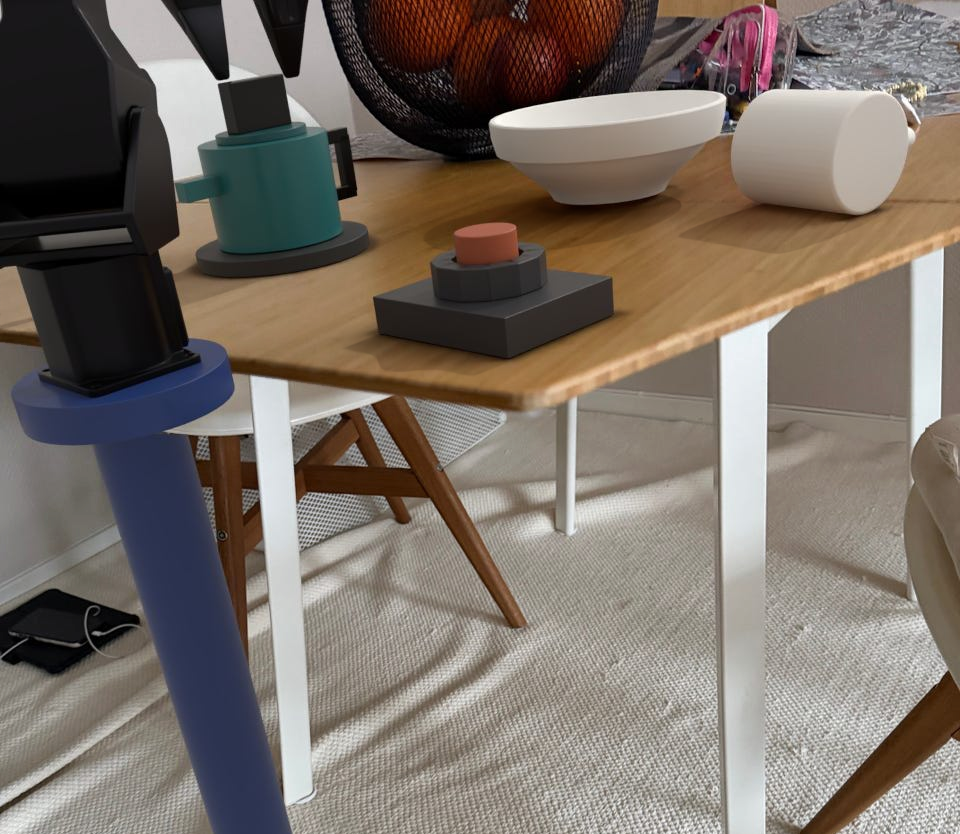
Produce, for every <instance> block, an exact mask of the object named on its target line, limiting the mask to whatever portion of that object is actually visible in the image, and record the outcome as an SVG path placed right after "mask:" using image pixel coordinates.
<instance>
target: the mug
mask: <svg viewBox="0 0 960 834" xmlns="http://www.w3.org/2000/svg"><path fill="white" fill-rule="evenodd" d="M916 138H917V137H916V133H915V131H914V129H913V128H911V127H910V126H909V125H908V120H907V116H906V113H905V111H904V109H903V107H902V105H901V103H900V102H899V101H898V99H897V98H896V97H895V96H893V95H892V94H890V93H888V92H885V91H881V90H839V89H836V90H834V89H833V90H832V89H796V88H795V89H791V88H790V89H789V88H787V89H786V88H774V89H769V90H766V91H764V92H762V93H760V94H759V95H757V96H756V97H754V99H753V100H751V101H750V103H749V104H748V105H747V106H746V108H745V109H744V111H743V112H742V114H741V115H740V118H739V119H738V122H737V124H736V127H735V129H734V132H733V137H732V140H731V147H730V166H731V167H730V168H731V172H732V176H733V180H734V182H735V184H736V186H737V189H738V190H739V191H740V193H741V194H742V195H743V196H744V197H746V198H747V199H748V200H750V201H752V202H754V203H759V204H767V205H774V206H781V207H789V208H798V209H805V210H813V211H820V212H829V213H835V214H836V213H837V214H843V215H852V216H861V215H866V214H868V213H870V212H872V211H873V212H874V210H876V209H877V208H879V207H880V206H881V205H882V204H883V203H884V202H885V201H886V200H887V199H888V198H889V196H890V195H891V194H892V192H893V191H894V190H895V188H896V185H897V184H898V182H899V180H900V177H901V175H902V173H903V170H904V167H905V163H906V159H907V154H908V150H909V148H911V147H912V146H913V145H914V144H915V142H916Z"/></svg>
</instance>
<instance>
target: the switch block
mask: <svg viewBox="0 0 960 834" xmlns="http://www.w3.org/2000/svg"><path fill="white" fill-rule="evenodd" d="M518 252H519V257H516V258H513V259H510V260H506V261H500V262H494V263H489V264H472V265H466V264H458V263H457V259H456V251H455V248H453V249H452V250H451V249H450V250H447V251H443V252H441V253H439V254H437V255H436V256H435V257H434V258H433V259H431V261H429V267H430V274H431V276H430V277H427V278H425V279H424V278H423V279H421V280H418V281H415V282H412V283H409V284H406V285H403V286H400V287H397V288H395V289H392V290H388V291H386V292H383V293H380V294H377V295H373V296H372V301H373V309H374V313H375V314H374V315H375V320H376V327H377V333H378V334H381V335H384V336H385V335H386V336H391V337H396V338H402V339H406V340H411V341H416V342H422V343H427V344H432V345H437V346H442V347H447V348H452V349H457V350H463V351H467V352H472V353H477V354H483V355H487V356H493V357H497V358H502V359H507V360H509V359H512V358H514V357H516V356H518V355H520V354H524V353H526V352H527V351H530V350H533V349H535V348H538V347H539V346H542V345H545V344H547V343H550V342H552V341H554V340H556V339H559V338H561V337H564V336H566V335H568V334H571V333H573V332H575V331H578V330H580V329H582V328H585V327H587V326H589V325H592V324H594V323H595V324H596V323H597V322H599V321H602V320H604V319H607V318H609V317H611V316H613V315H615V307H614V306H615V305H614V282H613V281H614V280H613V276H612V275H611V276H610V275H602V274H593V273H586V272H577V271H571V270H560V269H553V268H548V266H547V265H548V264H547V254H546V253H547V252H546V248H545V247H543V246H542V245H540V244H538V243H536V242H535V243H534V242H525V241H518Z"/></svg>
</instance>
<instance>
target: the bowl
mask: <svg viewBox="0 0 960 834" xmlns="http://www.w3.org/2000/svg"><path fill="white" fill-rule="evenodd" d="M726 106H727V96H726V95H724V93H722V92H718V91H712V90H700V89H699V90H698V89H697V90H696V89H676V90H675V89H673V90H672V89H671V90H669V89H668V90H652V91H651V90H648V91H636V92H625V93H613V94H605V95H604V94H603V95H597V96H595V95H594V96H587V97H580V98H572V99H566V100H560V101H553V102H548V103H542V104H537V105H532V106H528V107H523V108H518V109H514V110H512V111H511V110H510V111H507V112H504V113H501V114H499V115H496V116H494V117H493V118H491V119H490V120H489V122H488V128H489V134H490V135H489V136H490V141H491V143H492V144H491V145H492V146H493V149H494V152H495V155H496V157H497V158H499V159H500V160H502V161H506V162H509V163H510V164H511V166H513V167H514V168H515V169H517V170H518V171H519V172H521V174H523V175H524V176H526V178H528V179H530V180H531V181H533V182H534V183H536V184H537V185H539V186H541V187H542V188H543V189H545V191H547V193H548V194H549V195H550V196H551V198H552V200H554V201H555V202H557V203H560V204H566V205H577V206H579V205H581V206H584V205H585V206H587V205H605V204H615V203H623V202H630V201H636V200H641V199H645V198H649V197H653V196H656V195H658V194H661V193H663V192H664V191H665V190H666V189H667V188H668V185H669V183H670V182H671V181H672V179H673V178H674V177H675V176H676V174H678V173H679V172H680V171H681V170H682V169H683V168H684V167H686V166H687V164H689V163H690V162H691V161H692V160H693V159H694V158H695V157H696V156H697V155H698V154H699V153H700V152H701V151H702V150H703V149H704V148H705V146H706V144H707V143H708V142H709V141H711V140H713V139H715V138H717V137H718V136H720V134H721V132H722V128H723V124H724V120H725V116H726V109H727V108H726Z"/></svg>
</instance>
